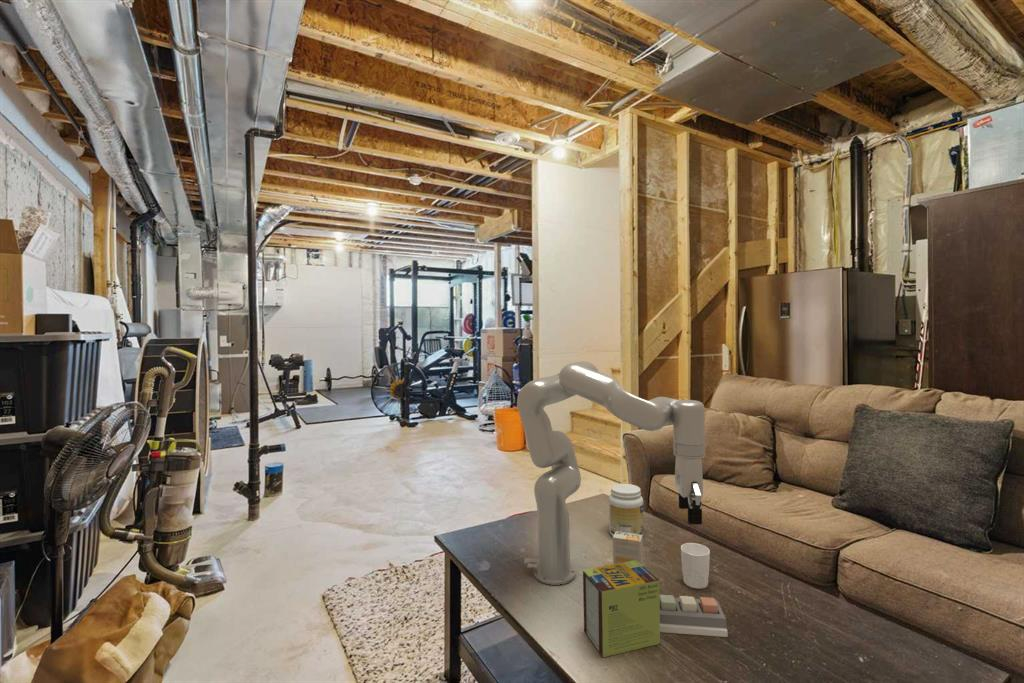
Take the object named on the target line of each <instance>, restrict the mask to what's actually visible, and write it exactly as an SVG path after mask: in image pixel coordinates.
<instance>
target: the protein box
mask: <svg viewBox="0 0 1024 683" xmlns="http://www.w3.org/2000/svg"><path fill="white" fill-rule="evenodd" d="M582 584H583V585H582V586H583V588H582V590H583V594H582V595H583V596H582V597H583V631H584V633H585V634H586V636H587V637H588V639H589V640H590V641H591V643H592V645H593V646H594V647H595V648H596V651H598V653H599V654H600V656H601V657H602V658H607V657H610V656H616V655H619V654H624V653H627V652H631V651H636V650H641V649H644V648H648V647H652V646H656V645H657V646H658V645H660V644H661V632H660V602H659V597H660V579H658V578H657V577H656V576H655V575H654V574H653V573H652V572H651V571H649V570H648V569H647V568H646V567H645V566H644V564H643V565H641V564H640V563H639V562H638V561H637V560H633V561H629V562H624V563H618V564H613V563H612V564H609V565H608V564H607V565H603V566H598V567H597V566H596V567H591V568H587V569H583V570H582Z"/></svg>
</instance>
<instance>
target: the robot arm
mask: <svg viewBox="0 0 1024 683" xmlns="http://www.w3.org/2000/svg"><path fill="white" fill-rule="evenodd" d="M576 395H577V396H579V397H581V398H583V399H586V400H587V401H591V402H593V403H595V404H598V405H600V406H602V407H603V408H605V409H606V410H607V412H609V413H611V414H612V415H613V416H614V417H616V418H618V419H619V420H621V421H622V422H624V423H627V424H629V425H630V426H631V425H632V426H634V427H637V428H639V429H641V430H644V431H649V432H655V431H656V432H657V431H659V430H661V429H662V428H665V427H666V426H669V425H672V427H673V428H672V432H673V433H672V434H673V435H672V436H673V438H672V439H673V440H672V441H673V443H672V444H673V446H672V447H673V456H674V457H675V466H674V486H675V490H676V491H677V492H678V508H679V510H680V509H681V510H687V523H688V525H702V524H703V506H702V498H703V496H704V494H703V493H704V477H703V476H704V475H703V461H702V459H703V458H705V457H706V437H705V436H706V423H705V422H706V421H705V420H706V416H705V405H704V403H703V402H702V401H699V400H694V399H676V398H672V397H667V396H666V397H665V396H657V397H654V398H651V399H649V400H647V399H644V398H641V397H640V396H639V397H638V396H637V395H635V394H632V393H630V392H628V391H626V390H624V389H623V388H622V386H621V385H620V383H619V380H618V379H617V378H616V377H613V376H611V375H608V374H606V373H603V372H600V371H599V369H598V368H597V367H596V365H594V364H593V363H591V362H589V361H584V360H583V361H578V362H577V361H576V362H571V363H567V364H566V365H564V366H563V367H562V368H561V370H560V372H558V373H557V374H554V375H551V376H545V377H540V378H536V379H533V380H530V381H529V382H527V383H526V384H524V386H523V387H522V388H521V389H520V390H519V392H518V394H517V398H516V406H517V411H518V415H519V418H520V420H521V423H522V427H523V431H524V435H525V439H526V444H527V448H528V452H529V455H530V458H531V461H532V463H533V465H534V466H536V467H538V469H539V468H540V469H546V468H549V467H551V469H550V470H547V471H546V472H543V474H541V475H540V476H539V477H538V478H537V480H536V481H535V484H534V487H533V492H534V497H535V498H534V499H535V502H536V510H537V528H538V529H537V533H538V534H537V535H538V536H537V537H538V541H537V542H538V554H537V555H538V556H537V557H534V558H531V557H528V558H527V557H526V558H524V566H527V569H534V570H533V575H534V578H535V577H536V578H537V579H538V580H537V579H536V578H535V579H536V580H537V581H539V582H540V583H542V582H543V584H545V583H546V585H549V584H550V586H553V585H554V586H561V585H560V584H562V585H566V584H569V583H571V582H572V581H573V580H575V578H576V570H575V567H574V566H572V565H571V546H570V545H571V543H570V540H571V538H570V536H571V535H570V514H569V513H570V512H569V510H568V507H567V502H566V500H567V499H568V498H569V497H570V496H572V495H573V494H575V493H576V492H577V491H578V490H579V488H580V486H581V484H582V477H581V472H580V468H579V464H578V460H577V456H576V452H575V449H574V446H573V443H572V441H571V438H570V437H569V436H568V435H567V434H566V433H565V432H563V431H559V430H553V428H552V423H551V420H550V417H549V415H548V414H547V412H546V411H545V409H544V408H545V407H546V406H550V405H553V404H557V403H560V402H563V401H566V400H567V399H570V398H572V397H575V396H576Z"/></svg>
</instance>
